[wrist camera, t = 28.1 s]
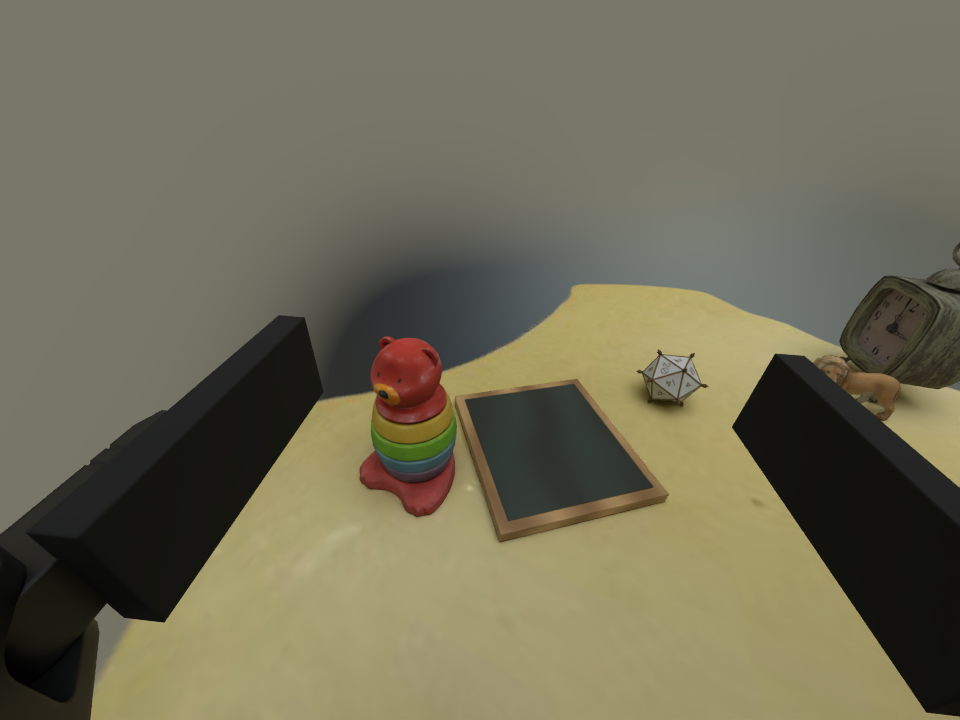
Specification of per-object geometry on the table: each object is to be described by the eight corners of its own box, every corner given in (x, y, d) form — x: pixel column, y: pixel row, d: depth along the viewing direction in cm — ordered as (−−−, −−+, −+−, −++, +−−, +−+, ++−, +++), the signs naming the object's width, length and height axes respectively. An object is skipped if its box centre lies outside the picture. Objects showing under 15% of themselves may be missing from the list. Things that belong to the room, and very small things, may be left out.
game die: (663, 424, 58) (695, 413, 49) (619, 389, 60) (642, 371, 51) (694, 384, 60) (732, 365, 51) (650, 351, 62) (678, 327, 53)
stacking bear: (352, 479, 43) (321, 351, 33) (407, 427, 50) (396, 310, 40) (426, 524, 39) (416, 393, 29) (475, 460, 46) (481, 338, 36)
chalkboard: (575, 385, 60) (577, 378, 59) (665, 501, 42) (669, 493, 41) (454, 403, 55) (454, 395, 54) (499, 542, 38) (500, 533, 37)
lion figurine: (801, 415, 56) (835, 367, 51) (780, 393, 60) (810, 346, 55) (901, 422, 55) (946, 374, 50) (872, 399, 60) (911, 353, 55)
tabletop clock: (822, 358, 70) (915, 221, 56) (877, 366, 68) (988, 228, 54) (867, 406, 58) (999, 250, 44) (935, 418, 57) (1095, 259, 42)
